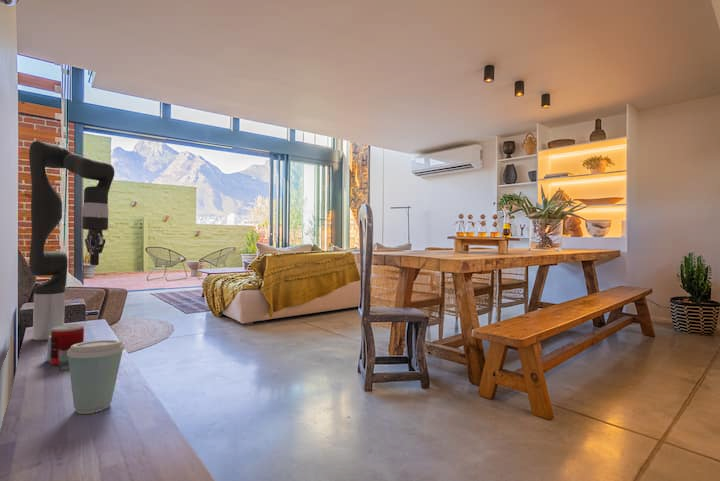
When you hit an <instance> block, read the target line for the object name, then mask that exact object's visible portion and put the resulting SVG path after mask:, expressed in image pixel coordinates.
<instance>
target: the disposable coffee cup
mask: <svg viewBox="0 0 720 481" xmlns="http://www.w3.org/2000/svg"><path fill="white" fill-rule="evenodd" d="M124 350H125V344H123V341H122V340H118V339H99V340H98V339H97V340H89V341H84V342H82V343H77V344H74V345H72V346H71V347H70V349H69V350H68V351H67V356H68V361H69V369H70V371H69V376H70V383H71V384H70V386H71V392H72V400H73V409H75V412H76V413H77V414H81V415H87V414H89V415H90V414H95V412H96V413H98V411H100V410H103V409H105V408H107V407H108V408H109V407H110V406H111V403H112V402H113V398H114V397H113V396H114V392H115V387H116V383H117V378H118V373H119V369H120V366H121V365H120V364H121V360H122V355H123V352H124ZM108 408H107V409H108ZM105 410H106V409H105ZM103 411H104V410H103ZM100 412H101V411H100Z"/></svg>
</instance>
